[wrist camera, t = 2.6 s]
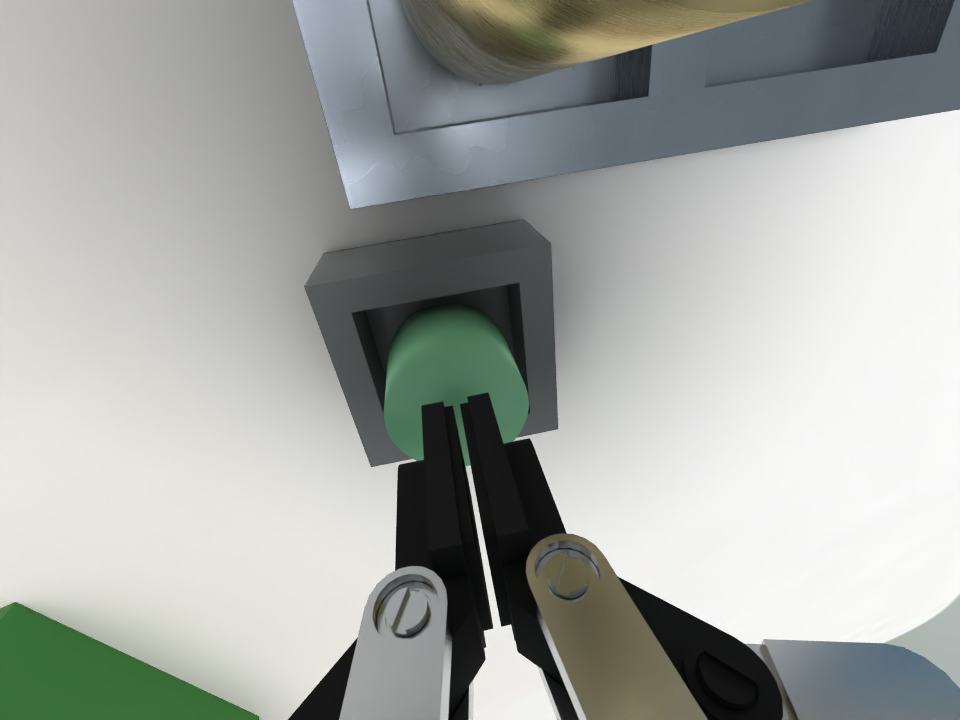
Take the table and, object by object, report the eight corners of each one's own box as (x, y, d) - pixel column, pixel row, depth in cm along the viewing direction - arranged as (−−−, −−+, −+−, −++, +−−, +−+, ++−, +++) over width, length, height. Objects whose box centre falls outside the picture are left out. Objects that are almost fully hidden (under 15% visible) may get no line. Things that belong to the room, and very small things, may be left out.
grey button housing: (324, 253, 14) (304, 286, 12) (524, 219, 15) (550, 243, 12) (376, 413, 18) (371, 467, 15) (535, 382, 18) (557, 428, 16)
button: (374, 316, 13) (366, 366, 10) (500, 293, 13) (523, 337, 11) (403, 416, 15) (402, 479, 12) (511, 395, 15) (533, 452, 13)
